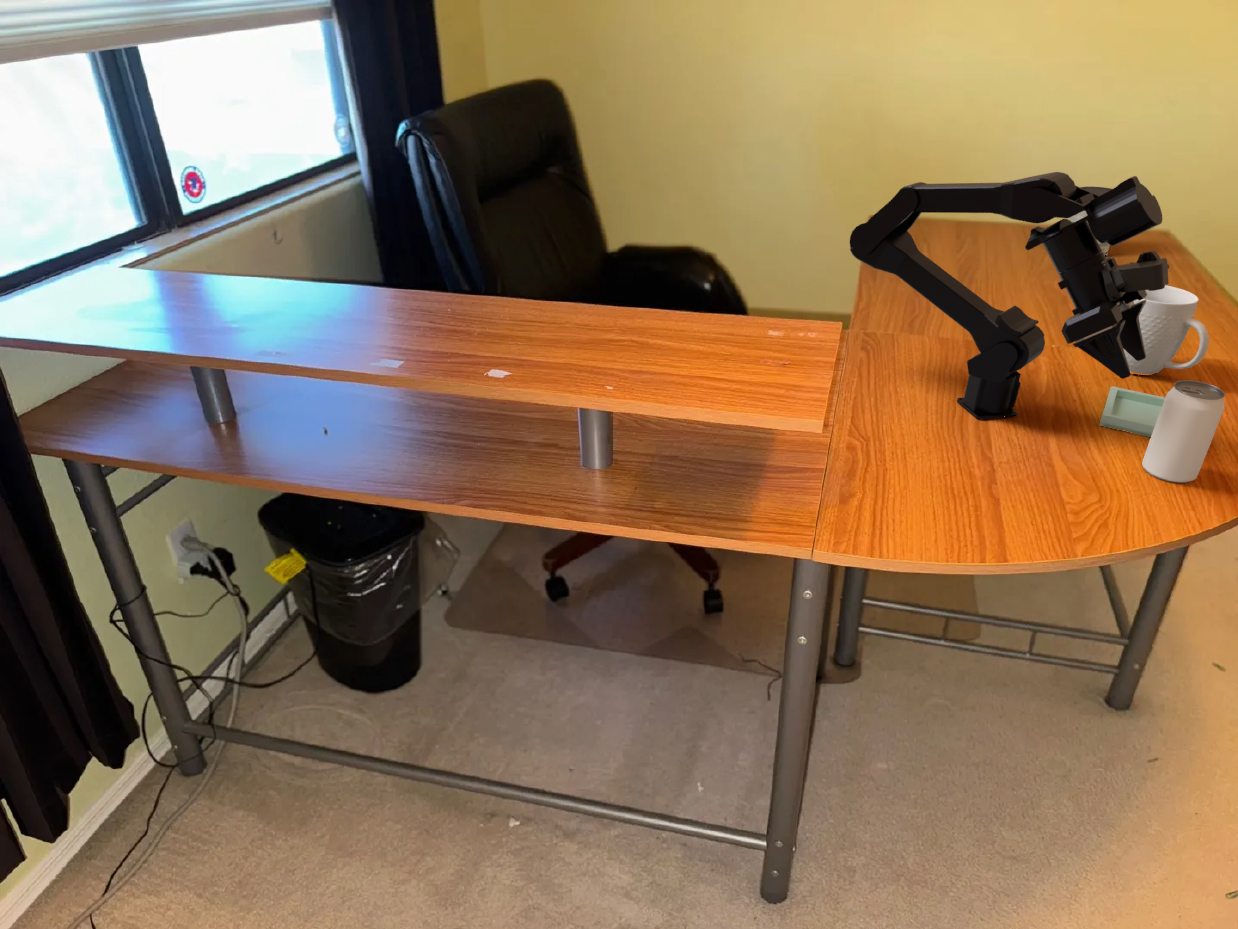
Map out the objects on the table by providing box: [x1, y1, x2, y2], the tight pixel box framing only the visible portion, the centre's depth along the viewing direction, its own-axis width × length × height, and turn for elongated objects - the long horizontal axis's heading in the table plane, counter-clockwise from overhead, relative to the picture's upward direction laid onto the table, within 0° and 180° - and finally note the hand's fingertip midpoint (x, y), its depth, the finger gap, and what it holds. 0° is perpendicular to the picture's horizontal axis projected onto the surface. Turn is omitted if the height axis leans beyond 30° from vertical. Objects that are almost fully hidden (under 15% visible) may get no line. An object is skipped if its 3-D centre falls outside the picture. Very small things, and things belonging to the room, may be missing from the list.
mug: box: [1123, 285, 1210, 374], centre depth 142 cm, size 15×11×13 cm
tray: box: [1098, 385, 1166, 438], centre depth 129 cm, size 12×12×2 cm
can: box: [1141, 379, 1226, 484], centre depth 113 cm, size 6×6×12 cm
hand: (1134, 368), depth 116 cm, fingers open, 9 cm apart
